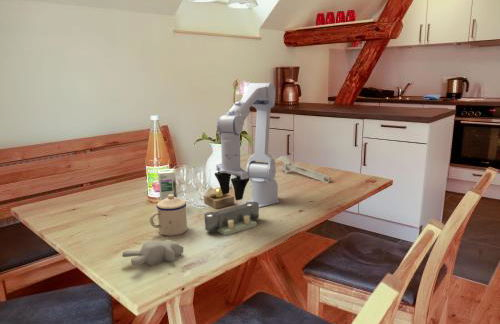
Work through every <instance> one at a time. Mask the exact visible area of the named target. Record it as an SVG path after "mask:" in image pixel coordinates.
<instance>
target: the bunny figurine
mask: <svg viewBox="0 0 500 324" xmlns="http://www.w3.org/2000/svg"><path fill="white" fill-rule="evenodd" d="M183 253H184V246H183V245H181V244H180V243H178V242H174V241H173V240H170V239H167V240H166V239H165V241H157V240H156V241H155V240H154V241H151V240H150V241H147V242H144V243H143V244H142V246H141V248H140V250H124V251H122V258H123V257H124V258H129V257H134V258H131V259H130V261H131V262H130V264H131V265H132V266H134V267H137V266H140V265H142V264H143V263H145V264H148V265H149V267H151V266H152V267H153V266H156V265H160V264H162V263H163V262H164V261H166V262H167V261H169V262H173V261H175V260H176V259H177V258H179V257H180V255H181V254H183Z"/></svg>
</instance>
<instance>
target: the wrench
mask: <svg viewBox="0 0 500 324" xmlns="http://www.w3.org/2000/svg"><path fill="white" fill-rule="evenodd" d="M277 161H282V163H283V165H281V166H278V168H279V170H280V171H282V172H284V173H285V174H286V175H287V174H289V175H290V172H295V173H299V174H301V175H304V176H305V177H309V178H311V179H315V180H317V181H320V182H321V183H322V182H323V183H326V184H329V183H331V182H332V178H331V176H329V175H327V174H324V173H321V172H318V171H315V170H312V169H309V168H306V167H303V166H300V165H297V164H295V163H294V162H293V161H292V160H291V159H289V158H288V156H286V155H281V156H279V157H277ZM327 179H328V180H327Z"/></svg>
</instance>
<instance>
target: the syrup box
mask: <svg viewBox="0 0 500 324" xmlns="http://www.w3.org/2000/svg"><path fill="white" fill-rule="evenodd" d="M157 175H158V189H159V190H158V191H159V199H160V200H159V201H161V200H164V199H165V198H168V195H170V194H173V195H174V197H176V198H178V193H177V184H176V183H177V182H176V171H175V169H174V168H168V169H167V168H166V169H165V168H164V169H157Z"/></svg>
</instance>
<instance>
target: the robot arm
mask: <svg viewBox="0 0 500 324" xmlns="http://www.w3.org/2000/svg"><path fill="white" fill-rule="evenodd" d="M275 103H276V88H275V84H274V83H273V82H247V83H245V85H244V87H243V96H242V97H241V99H240V101H235V102H234V104H232V106H231V108H230V109H229V110H228V111H227V113H226V114H223V115H221V116H219V118H218V119H217V123H216V130H217V133H218V138H219V140H220V150H221V163H218V164H217V163H216V166H215V167H216V171H217V172H215V173H214V176H215V178H216V179H217V182H218V184H219V188H221V191H222V194H223V195H224V194H228V195H229V193H230V183H232V185H233V186H232V187H233V192H234V200H236V201H240V200H241V201H242V200H243V198H244V194H245V190H246V187H247V185H248V182H249V181H251V182H250V183H251V199H248V200H246V203H247V202H258V203H259V208H262V207H263V208H264V207H266V206H269V205H273V204H277V203H279V202H280V200H279V198H278V197H279V195H278V193H279V191H278V190H279V189H278V182H277V180H276V179H275V177H276V173H277V172H276V171H277V168H276V167H277V166H276V160H275V158H274V157H273V156H272V155H271V154H270V153H269V141H270V140H269V139H270V126H271V125H270V124H271V123H270V122H271V109H272V108H273V107H275ZM251 107H253V108H254V109H255V110H256V120H255V121H256V123H255V138H254V153H253V154H252V155H250V156H249V157H248V159H247V164H246V169H245V170H244V169H243V167H241V140H240V139H241V138H240V136H241V133H243V128H244V125H245V120H246V119H247V117H248V116H249V114H250V111H251V110H250V108H251ZM232 176H234V177H232ZM231 177H232V178H231Z"/></svg>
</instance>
